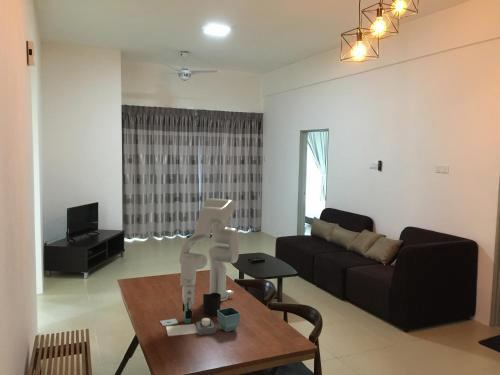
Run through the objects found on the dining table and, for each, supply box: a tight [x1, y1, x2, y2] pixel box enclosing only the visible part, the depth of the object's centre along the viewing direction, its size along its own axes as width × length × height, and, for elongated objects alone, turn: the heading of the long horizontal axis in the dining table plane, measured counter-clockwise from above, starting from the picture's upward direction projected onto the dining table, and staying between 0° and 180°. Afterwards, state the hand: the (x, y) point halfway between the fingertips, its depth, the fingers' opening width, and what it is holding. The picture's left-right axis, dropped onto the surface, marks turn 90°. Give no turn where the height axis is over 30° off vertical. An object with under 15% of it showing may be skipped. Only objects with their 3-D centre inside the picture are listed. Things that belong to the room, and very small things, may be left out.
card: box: [159, 318, 180, 327], centre depth 205 cm, size 8×6×1 cm
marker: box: [183, 305, 192, 324], centre depth 206 cm, size 3×3×10 cm
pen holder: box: [202, 293, 222, 317], centre depth 218 cm, size 9×9×10 cm
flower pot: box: [216, 306, 242, 333], centre depth 199 cm, size 9×9×9 cm
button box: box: [195, 320, 216, 336], centre depth 197 cm, size 8×8×3 cm
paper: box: [165, 323, 198, 337], centre depth 197 cm, size 14×10×1 cm
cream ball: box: [201, 317, 211, 327], centre depth 197 cm, size 4×4×4 cm
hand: (187, 314), depth 206 cm, fingers open, 9 cm apart
